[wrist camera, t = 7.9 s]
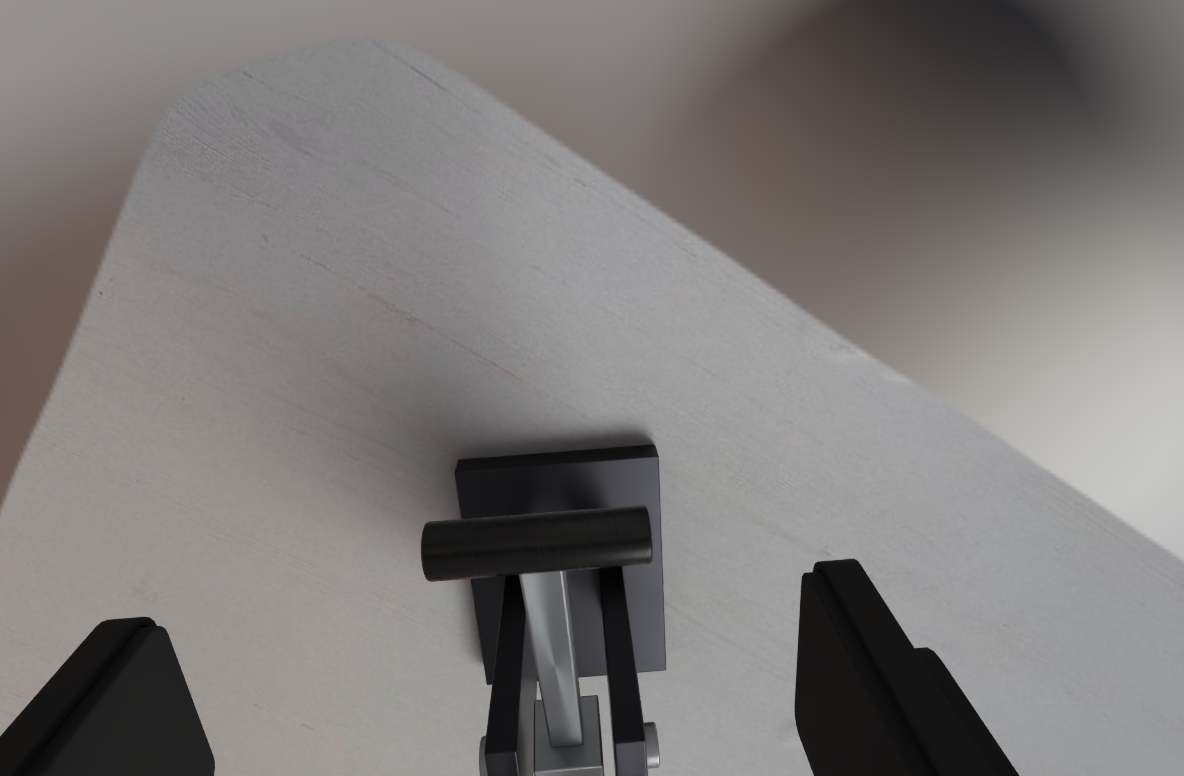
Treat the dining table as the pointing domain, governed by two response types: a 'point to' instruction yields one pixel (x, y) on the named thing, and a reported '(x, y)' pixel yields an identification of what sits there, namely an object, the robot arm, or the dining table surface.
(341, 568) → the dining table surface
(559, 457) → the bracket
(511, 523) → the lever
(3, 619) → the dining table surface
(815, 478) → the dining table surface
